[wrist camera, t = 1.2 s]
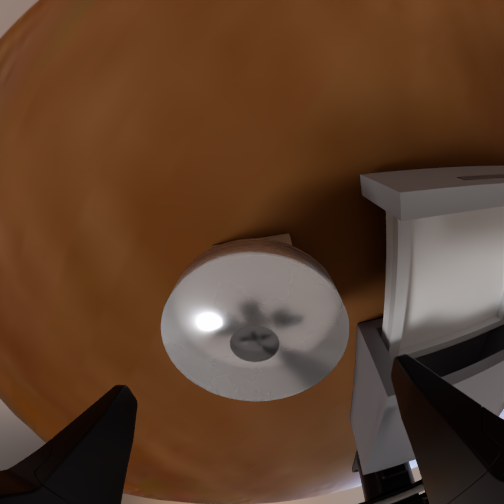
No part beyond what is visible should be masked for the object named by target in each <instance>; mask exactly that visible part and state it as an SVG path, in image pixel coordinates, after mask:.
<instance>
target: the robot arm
mask: <svg viewBox="0 0 504 504" xmlns="http://www.w3.org/2000/svg"><path fill="white" fill-rule="evenodd" d="M391 380H392V384H393V387H394V391H395V395H396V399H397V403H398V407H399V411H400V415H401V419H402V422H403V424H404V427H405V430H406V433H407V435H408V438H409V441H410V444H411V447H412V450H413V452H414V455H415V458H416V461H417V464H418V467H419V471H420V474H421V476H422V479H421V480H419V481H417V482H415V481H414V478H413V474H412V471H411V468H410V464H409V462H406V463H403V464H400V465H397V466H394V467H390V468H387V469H384V470H380V471H377V472H373V473H369V474H365V475H363V473H362V469H361V464H360V459H359V455H358V451H357V452H356V455H355V459H354V463H353V467H352V472H358V471H359V473H360V478H361V483H362V488H363V493H364V498H365V502H362V503H359V504H504V420H503V419H501V418H500V417H498V416H497V415H495V414H494V413H492V412H491V411H489V410H488V409H486V408H485V407H483V406H481V405H480V404H479V403H477V402H476V401H475V400H473V399H472V398H470V397H469V396H467V395H466V394H464V393H463V392H462V391H460V390H459V389H457V388H456V387H454V386H453V385H451V384H450V383H449V382H447V381H446V380H444V379H443V378H441V377H440V376H438V375H437V374H435V373H434V372H433V371H431V370H430V369H428V368H427V367H425V366H424V365H422V364H421V363H420V362H418V361H417V360H415V359H414V358H412V357H411V356H409V355H408V354H402V355H399V356H396V357H395V358H394V360H393V366H392V371H391ZM136 413H137V400H136V398H135V397H134V395H133V394H132V392H131V391H130V389H129V388H128V387H127V386H126V385H116V386H114V387H113V388H112V389H111V390H109V391H108V392H107V393H106V394H105V395H104V396H102V397H101V398H100V399H99V400H98V401H96V402H95V403H94V404H93V405H92V406H90V407H89V408H88V409H87V410H86V411H85V412H83V413H82V414H81V415H80V416H79V417H77V418H76V419H75V420H74V421H73V422H71V423H70V424H69V425H68V426H67V427H65V428H64V429H63V430H62V431H60V432H59V433H58V434H57V435H56V436H54V437H53V439H51V440H50V441H48V442H47V443H46V444H45V445H43V446H42V447H41V448H40V449H38V450H37V451H35V452H34V453H33V454H31V455H30V456H28V457H27V458H25V459H24V460H22V461H21V462H19V463H18V464H16V465H14V466H13V467H11V468H9V469H7V470H3V471H0V504H121V499H122V494H123V488H124V483H125V478H126V473H127V467H128V463H129V458H130V453H131V448H132V444H133V438H134V430H135V421H136ZM423 490H425V493H423V494H420V495H419V492H421V491H423Z"/></svg>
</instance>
